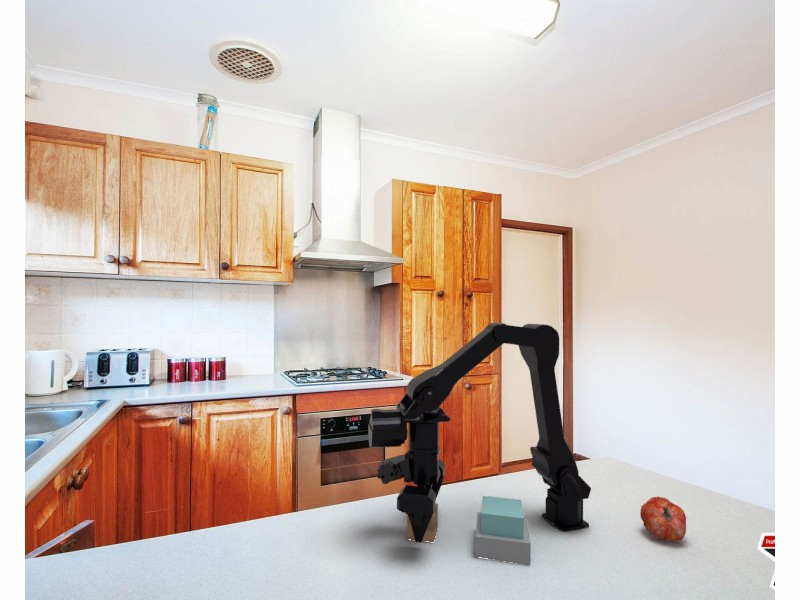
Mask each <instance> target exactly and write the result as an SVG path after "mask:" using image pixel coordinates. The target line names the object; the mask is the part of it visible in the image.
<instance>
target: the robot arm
mask: <svg viewBox="0 0 800 600" xmlns="http://www.w3.org/2000/svg"><path fill="white" fill-rule="evenodd" d="M504 344H507V345H515V346H518V349H519V351H520V356H521V357H522V358H523V360H524V362H525V364H526V366H527V368H528V370H529V376H530V382H531V383H530V384H531V389H532V396H533V403H534V409H535V417H536V424H537V429H538V430H537V432H538V441H537V443H536V446H530V447H529V451H530V454H531V458H532V462H531V466H532V467H534V468H535V471H536V473H537V474H538V475H539V476H540V477H542V481H543V483H544V484H546V485H548V487H549V488H546V489H547V490H546V497H545V512H542V513H541V516H542V518H544V519H545V520H546V521H548V522H549V523H550V524H551V525H553V526H554V527H556V528H557V529H559V531H562V532H567V531H573V530H578V529H583V528H589V527H590V524H589V522H588V521H586V520H584V500H588V499H589V497H590V494H591V491H592V488H591V486H590V485H589V484H588V483H587V482H586V481H585V480H584V479H583V478H582V477H581V476H580V475H579V469H578V465H577V462H576V459H575V456H574V453H573V452H572V450H571V448H570V447H569V445H568V443H567V441H566V439H565V434H564V427H563V426H564V425H563V419H562V412H561V406H560V399H559V398H560V397H559V391H558V386H557V385H558V384H557V378H556V370H555V369H556V365H557V361H558V359H559V356H560V335H559V332H558V330H557V329H555V328H554V327H553V326H552V325H549V324H544V323H543V324H542V323H541V324H540V323H526V324H524V325H523V326H519V325H518V326H517V325H511V324H507V323H502V322H491V323H488V324H487V325H486V327H485V328H484V329H483V330H482V331H480V332H479V333H478V334H477V335H475V336H474V337H473V338H472V339H470V340H469V341H468V342H467V343H466V344H464V345H463V346H462V347H460V348H459V349H458V350H457V351H455V352H454V353H452V355H451V356H450V357H448V358H447V359H446V360H445V361H443V362H442V363H441V364H439V365H437V366H435V367H431V368H429V369H427V370H425V371H423V372H422V373H420V374H418V375H416V376H415V377H412V378H411V380H410V381H409V382H408V384H407V386H406V393H405V394H404V396H403V397H402V398H401V400H399V403H398V404H397V405H395V406H396V407H395V408H396V409H379V408H372V409H370V417H369V423H368V426H367V427H368V430H367V433H368V444H369V445H368V446H369V448H370V449H379V448H381V449H382V448H398V447H399V448H400V447H402V445H403V444H404V445H405V443H406V441H407V439H408V448H407V449H408V450H407V452H405V453H404V454H400V455H399V454H398V455H397V456H393V457H389V458H386V459H384V460H382V461H381V462H380V463H379V464H378V466H377V469H376V470H377V479H378V480H381V483H382V485H388V484H389V483H391V482H395V481H398V480H402V479H403V483H410V484H411V483H412V484H413V485H408V484H405V486H403V487H402V488H401V489H400V491H399V494H398V495H397V497H396V509H397V510H398V511H399V512H401V513H403V514H405V515H406V516H407V515H408V516H409V519H410V523H411V526H412V530H413V534H414V538H415V541H414V542H415V543H419V544H421V543H423V542H422V540H423V537H424V535H425V532H426V530H427V528H428V525H429V523H430V520H431V518H432V515H433V513H434V510H435V503H436V504H437V502H436V501H437V498H438V496H439V495H438V494H439V492H440V490H441V487H442V485H443V481H444V477H445V474H446V472H445V471H446V469H445V468H446V465H445V462H444V461H442V459H440V453H441V447H440V423H444V422H445V423H446V422H450V421H451V417H449V416H448V415H447V414H446V413H445V411H444V409H443V408H442V407H441V405H442V404H443V403H444V402H445V401H446V400H447V398H448V397H449V396H450V394H451V393H452V391H453V389H454V387H455V385H456V384H457V383H458V382H459V381H460V380H462V378H463V377H465V376H466V375H467V374H468V373H470V372H471V371H472V370H473V369H474V368H475V367H477V366H478V365H479V364H480V363H482V362H483V361H484V360H485V359H486V358H488V357H489V356H490V355H491V354H493V353H494V352H495V351H496V350H497V349H499V348H500V347H501V346H502V345H504Z"/></svg>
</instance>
